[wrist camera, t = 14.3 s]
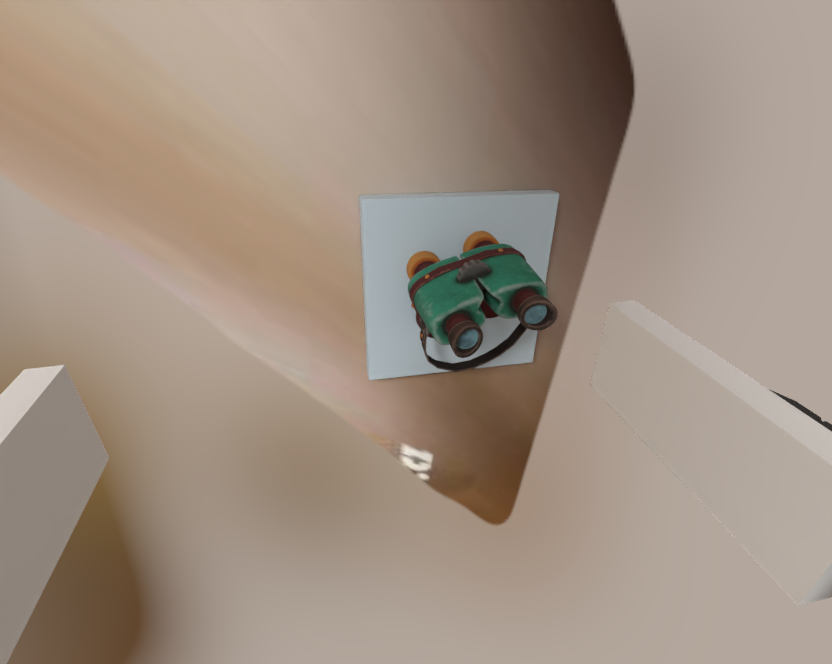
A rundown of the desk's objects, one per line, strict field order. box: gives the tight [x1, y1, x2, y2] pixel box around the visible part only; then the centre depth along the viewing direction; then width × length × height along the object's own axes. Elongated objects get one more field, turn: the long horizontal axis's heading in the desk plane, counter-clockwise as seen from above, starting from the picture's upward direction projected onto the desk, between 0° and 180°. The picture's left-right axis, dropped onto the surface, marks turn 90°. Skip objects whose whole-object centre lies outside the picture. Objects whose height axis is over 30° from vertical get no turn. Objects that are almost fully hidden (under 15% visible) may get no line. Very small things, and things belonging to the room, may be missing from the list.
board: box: [359, 190, 559, 380], centre depth 36 cm, size 15×15×2 cm
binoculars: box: [406, 231, 557, 372], centre depth 32 cm, size 9×11×10 cm
